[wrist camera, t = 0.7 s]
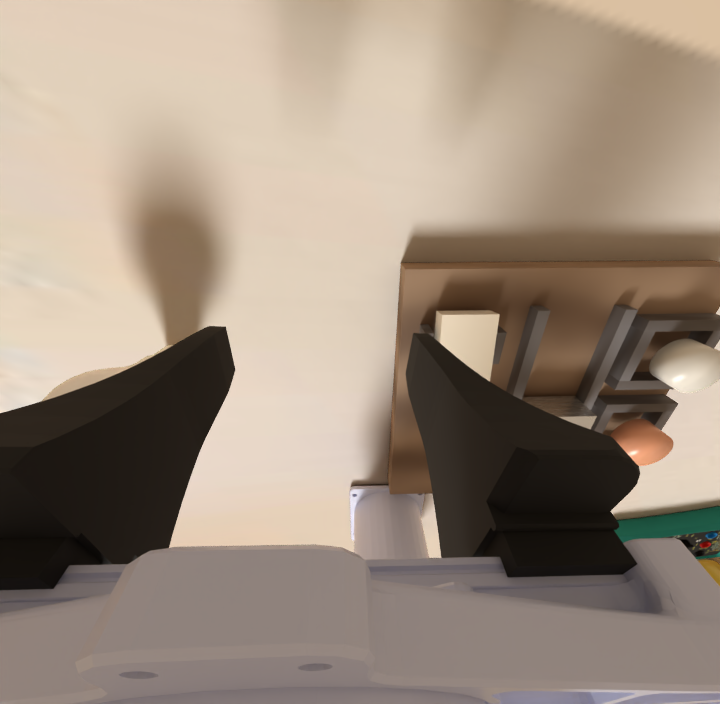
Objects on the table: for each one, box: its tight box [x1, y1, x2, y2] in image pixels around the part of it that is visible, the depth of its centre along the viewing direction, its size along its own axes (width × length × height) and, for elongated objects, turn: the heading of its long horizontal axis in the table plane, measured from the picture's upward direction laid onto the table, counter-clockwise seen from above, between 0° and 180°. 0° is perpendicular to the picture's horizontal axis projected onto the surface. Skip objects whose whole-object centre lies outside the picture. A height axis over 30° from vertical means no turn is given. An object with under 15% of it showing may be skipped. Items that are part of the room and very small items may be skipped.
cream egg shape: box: [649, 339, 720, 393], centre depth 20 cm, size 3×3×2 cm
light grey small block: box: [522, 396, 597, 429], centre depth 23 cm, size 2×4×2 cm, turn 90°
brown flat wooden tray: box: [388, 260, 720, 494], centre depth 24 cm, size 22×22×4 cm
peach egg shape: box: [610, 419, 673, 466], centre depth 23 cm, size 3×3×2 cm
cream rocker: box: [434, 310, 500, 381], centre depth 20 cm, size 5×4×1 cm
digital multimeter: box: [614, 506, 720, 559], centre depth 36 cm, size 7×15×3 cm, turn 101°
